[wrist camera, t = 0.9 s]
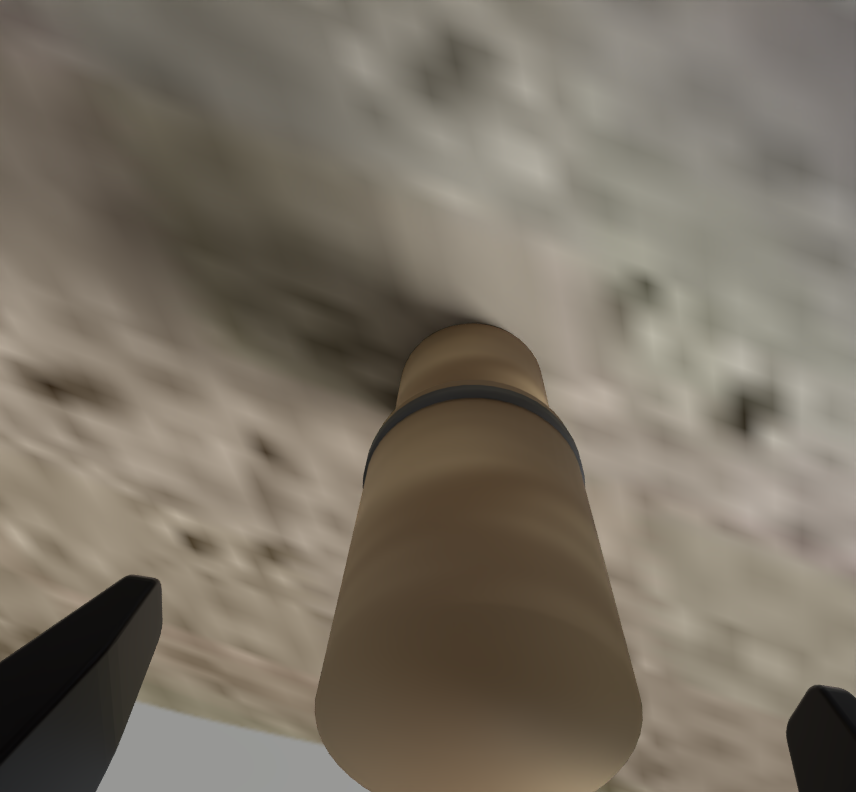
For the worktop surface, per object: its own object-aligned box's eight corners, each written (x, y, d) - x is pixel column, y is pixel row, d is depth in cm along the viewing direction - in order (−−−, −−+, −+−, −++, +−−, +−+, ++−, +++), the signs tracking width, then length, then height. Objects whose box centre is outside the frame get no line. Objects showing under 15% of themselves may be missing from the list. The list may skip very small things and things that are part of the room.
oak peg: (577, 325, 15) (696, 631, 7) (535, 473, 17) (594, 842, 9) (399, 294, 15) (327, 572, 7) (375, 447, 17) (298, 797, 9)
